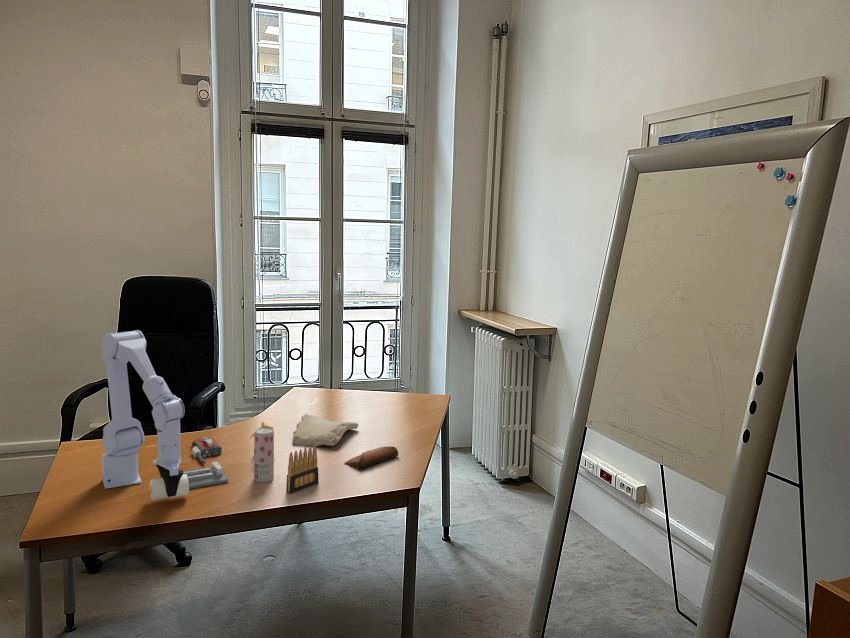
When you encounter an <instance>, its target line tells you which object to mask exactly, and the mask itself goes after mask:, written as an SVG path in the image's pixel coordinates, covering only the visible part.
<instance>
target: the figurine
mask: <svg viewBox="0 0 850 638" xmlns="http://www.w3.org/2000/svg"><path fill="white" fill-rule="evenodd" d="M260 428H270V429H272V430H273V433H274V434H275V432H274V427H272V426H269V425H267V424H266V423H265V422H264V421H262V422H261V426H260ZM260 428H258V429H260ZM254 434H255V432H254V433H252V435H251V436H250V439H252V438H254Z"/></svg>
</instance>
